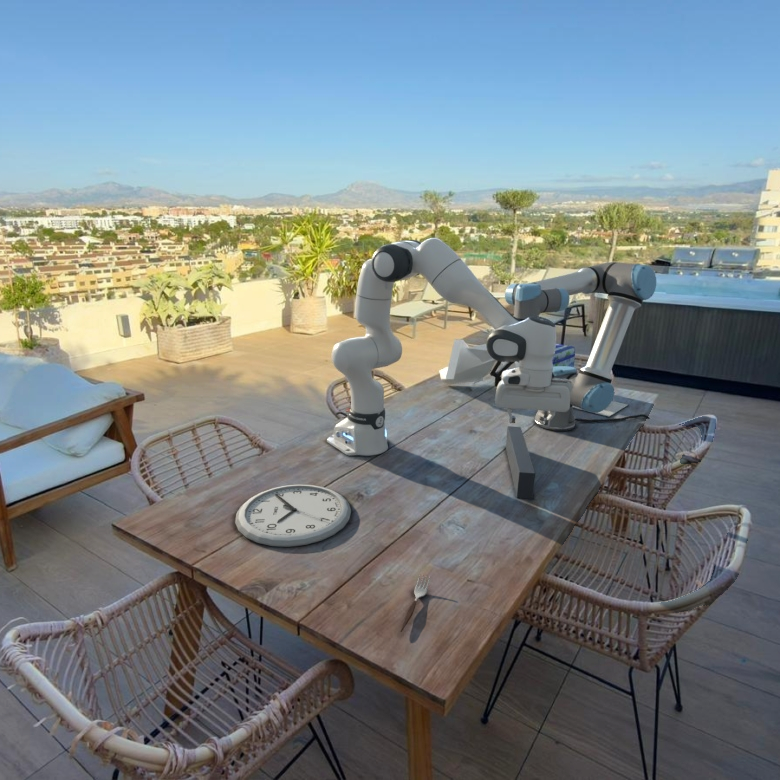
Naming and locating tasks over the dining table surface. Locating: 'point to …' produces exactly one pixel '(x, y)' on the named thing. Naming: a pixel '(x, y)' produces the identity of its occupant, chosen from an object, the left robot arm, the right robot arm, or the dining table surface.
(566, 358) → the lunch box
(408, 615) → the fork
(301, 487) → the wall clock
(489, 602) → the dining table surface
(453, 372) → the white plastic object
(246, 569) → the dining table surface
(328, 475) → the dining table surface
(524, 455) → the beam
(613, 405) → the invitation card
